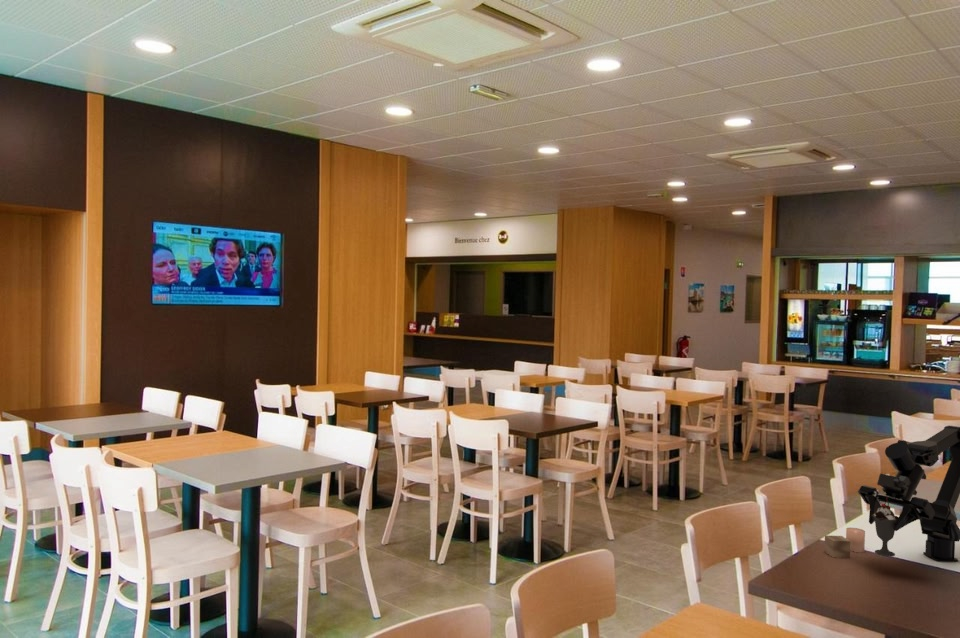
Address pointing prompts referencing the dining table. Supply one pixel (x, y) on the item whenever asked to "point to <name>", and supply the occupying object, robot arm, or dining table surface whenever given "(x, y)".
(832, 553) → the walnut block
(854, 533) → the pink block
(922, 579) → the dining table surface
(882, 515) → the sundae
